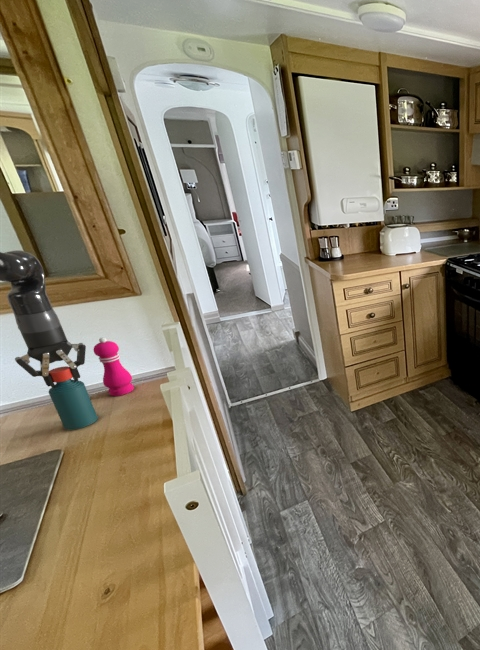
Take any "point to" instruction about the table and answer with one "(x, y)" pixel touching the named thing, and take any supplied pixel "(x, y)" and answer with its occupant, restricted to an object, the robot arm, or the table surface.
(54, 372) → the cap
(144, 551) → the table surface
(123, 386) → the pepper mill
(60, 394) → the bottle
